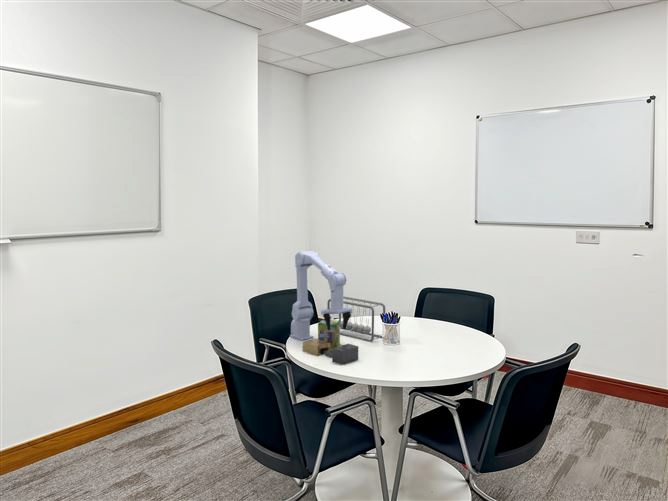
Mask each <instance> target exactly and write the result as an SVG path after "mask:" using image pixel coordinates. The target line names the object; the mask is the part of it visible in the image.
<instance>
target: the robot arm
mask: <svg viewBox="0 0 668 501" xmlns="http://www.w3.org/2000/svg"><path fill="white" fill-rule="evenodd" d="M294 258H295V259H294V262H295V270H296V297H297V298H296V302H294V303H293V304H292V310H291V317H292V321H291V324H290V335H289V337H291V338H292V339H293V338H294V339H297V340H301V341H304V340H309V339H313V338H314V336H313V335H311V333H310V332H311V330H310V329H311V325H310V324H311V323H310V322H311V320H312V318H313V317H314V309H313V304H312V303H311V301H309V296H308V295H309V294H308V293H309V291H308V269H309V268H310V267H311V266H315V267H316V268H317V269H319V271H320V274H321V275H322V276H323V277H324V278H325V279H326V280H327V282H328V286H329V290H330V299H331V301H330V309H327V308H326V309H320V315H322V316H323V320H325V321H326V325H327V329H328V330H330V320H332V318H331V315H337V314H338V315H339V313H341V314H342V313H343V316H342V321H343V328H344V329H343V330H345V329H346V328H347V327H346V326H347V323H348V322H349V321H350V318H352V314H353V312H354V310H353V307H348V308H347V307H344V303H343V301H344V299H343V296H344V286H345V285H346V284H347V277H346V275H345V273H344V272H338V270H336V269H335V268H334V267H332V265H331V264H326V263H325V262H324V261H323V260H322V258H320V256H319V253H318V252H317V251H316V250H308V251H306V250H305V251H298V252H297V253H296V254H295V256H294ZM329 314H330V315H329Z"/></svg>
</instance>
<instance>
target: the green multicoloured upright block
mask: <svg viewBox="0 0 668 501" xmlns="http://www.w3.org/2000/svg"><path fill="white" fill-rule="evenodd" d="M340 332H341V329H340V321H339V320H335V319H331V320H330V330H328V329H327V325H326V321H325V319H321V320H320V321H319V322H318V323H317V336H318V338H317V339H319V340H322V341H326V342H329V343H331V349H332V348H335V347H338V346H340V345H341V344H340V342H341V339H340V337H341V335H340Z"/></svg>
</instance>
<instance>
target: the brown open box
mask: <svg viewBox="0 0 668 501" xmlns="http://www.w3.org/2000/svg"><path fill="white" fill-rule="evenodd" d="M328 350H331V351H332V348H331V343H329V342H326V341H322V340H319V339H318V338H311V339H307V340H305V341H304V340H303V341H302V352H305V353H307V354H309V355H314V356H316V357H320V356H321V352H324V353H325V351H328Z"/></svg>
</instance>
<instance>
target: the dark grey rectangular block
mask: <svg viewBox="0 0 668 501" xmlns="http://www.w3.org/2000/svg"><path fill="white" fill-rule="evenodd" d="M324 356H325V357H327V358H330V359H332V360H331V361H332V363H334V362H335V363H334V364H337V363H338V365H341V366H344V365H347V364H350V363H352V362H356V361H359V346H358V345H355V344H350V343H346V344H345V343H344V344H341V345H338V347H335V348H331V350H328V351H325V352H324Z"/></svg>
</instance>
